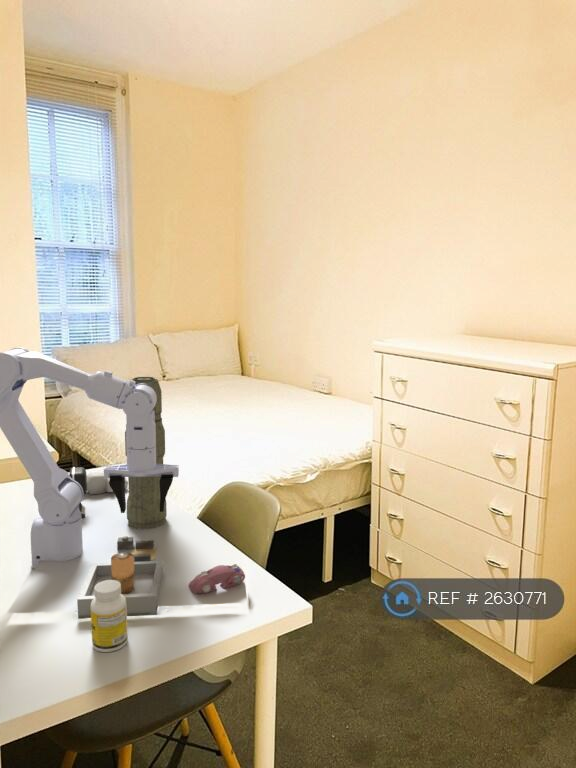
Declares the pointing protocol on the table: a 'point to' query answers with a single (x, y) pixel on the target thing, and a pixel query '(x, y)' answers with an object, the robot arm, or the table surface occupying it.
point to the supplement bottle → (108, 617)
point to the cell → (123, 571)
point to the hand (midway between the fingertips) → (142, 510)
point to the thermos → (147, 489)
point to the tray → (134, 602)
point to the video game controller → (217, 578)
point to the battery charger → (81, 478)
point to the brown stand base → (138, 548)
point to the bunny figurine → (99, 483)
